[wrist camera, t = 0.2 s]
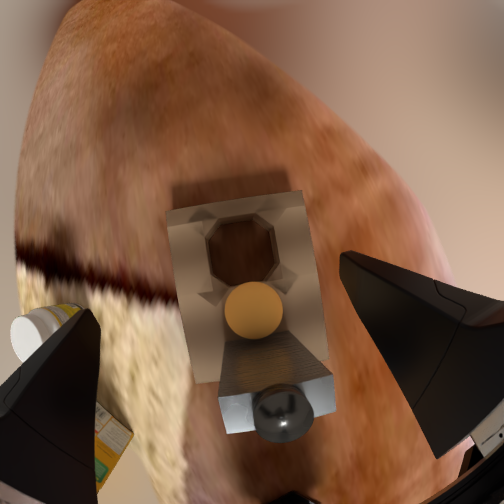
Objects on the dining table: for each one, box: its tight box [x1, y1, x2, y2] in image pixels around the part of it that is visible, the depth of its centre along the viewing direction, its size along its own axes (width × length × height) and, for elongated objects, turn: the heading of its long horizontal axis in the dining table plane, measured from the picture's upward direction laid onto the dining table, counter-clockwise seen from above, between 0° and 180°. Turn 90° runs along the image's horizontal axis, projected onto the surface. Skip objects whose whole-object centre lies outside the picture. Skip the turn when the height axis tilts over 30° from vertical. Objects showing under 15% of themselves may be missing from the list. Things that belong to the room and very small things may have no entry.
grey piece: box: [218, 330, 336, 443], centre depth 15 cm, size 2×5×11 cm, turn 100°
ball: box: [225, 282, 283, 339], centre depth 19 cm, size 4×4×4 cm
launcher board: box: [166, 190, 329, 384], centre depth 22 cm, size 14×11×3 cm
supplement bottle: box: [11, 303, 85, 363], centre depth 18 cm, size 5×5×8 cm
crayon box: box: [95, 401, 134, 494], centre depth 16 cm, size 7×3×12 cm, turn 48°
